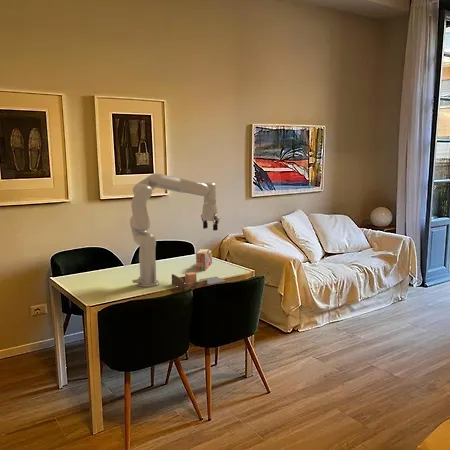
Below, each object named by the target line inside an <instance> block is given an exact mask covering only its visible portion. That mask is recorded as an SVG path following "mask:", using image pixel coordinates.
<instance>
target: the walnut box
mask: <svg viewBox="0 0 450 450" xmlns="http://www.w3.org/2000/svg"><path fill="white" fill-rule="evenodd" d="M171 284H172V285H173V286H174V285H175V287H176V286H178V287H177V288H178V289H179V290H181V291H188V290H193V289H194V290H195V289H198V288H203V287H208V284H207V280H203V281H201V280H199V281H197V282H191V283H186V284H185V275H184V276H177V275H176V274H174V273H172V274H171Z"/></svg>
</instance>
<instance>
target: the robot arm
mask: <svg viewBox="0 0 450 450" xmlns="http://www.w3.org/2000/svg"><path fill="white" fill-rule="evenodd" d="M216 187H217V185H216V183H215V182H203V183H202V182H198V181H194V180H193V181H192V180H188V179H184V178H181V177H175V176H171V175H167V174H161V173H152V174H150V175H148V176H147V177H145V178H143V179H142V180H140V181H139V182H137V183H136V184H135V185H134V186H133V188H132V194H133V197H132V199H131V212H132V215H131V217H130V220H129V226H130V230H131V233H132V237H133V240H134V243H135V244H136V245H138V246H139V250H138V251H139V253H138V258H139V259H138V260H139V276H138V278H137V279H132V281H131V282H132V283H133V284H137V286H138V287H141V288H142V287H143V288H152V287H156V286H158V285H159V284H160V280H159V279H158V280H157V264H156V263H157V262H156V248H157V247H156V246H157V240H156V237H155V235H154V234H152V233H151V232H149V231H148V230H149V228H150V226H151V220H150V217H149V212H148V209H147V204H148V203H147V202H148V200H149V199H150V198H151V196H152V195H153V190H155V189H156V188H157V189H161V190H167V191H171V192H176V193H183V194H184V193H185V194H191V195H195V196H200V197H203V204H202V214H201V215H200V218H201V220H202V225H203V226H202V228H203V229H204V230H206V229H208V221H209V222H212V223H213V224H212V227H213V228H212V230H213V231H218V229H219V228H218V227H219V226H218V224H219V222H220V220H221V217H220V216H219V215H218V207H217V198H216V197H217V195H216V194H217V191H216V189H217V188H216Z"/></svg>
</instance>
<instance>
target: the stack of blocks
mask: <svg viewBox="0 0 450 450" xmlns="http://www.w3.org/2000/svg"><path fill="white" fill-rule="evenodd" d="M212 252H213V251H212V250H210V249H209V248H207V249H206V248H200V249H198V251H197V252H196V253H195V265H196V266H195V267H196V270H197V271H199V272H201V271H202V272H206V271H207V270H208V269H209V267H210V266H211V265H212V264H213V253H212Z"/></svg>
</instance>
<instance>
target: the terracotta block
mask: <svg viewBox="0 0 450 450" xmlns="http://www.w3.org/2000/svg"><path fill="white" fill-rule="evenodd" d="M184 276H185V282H184V284H186V283H191V282H197V280H198V279H197V273H196V272H193V271H190V272H185V273H184Z"/></svg>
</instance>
